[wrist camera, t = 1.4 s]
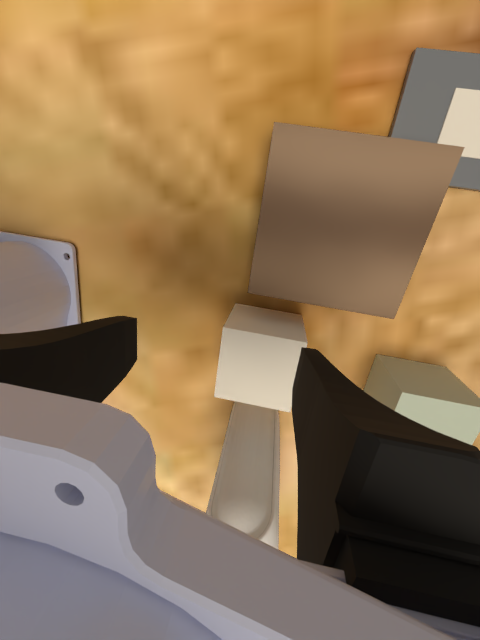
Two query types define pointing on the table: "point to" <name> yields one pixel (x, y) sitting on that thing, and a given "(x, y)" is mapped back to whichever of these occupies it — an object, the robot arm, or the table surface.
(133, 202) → the table surface
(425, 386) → the sage cube
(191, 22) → the table surface
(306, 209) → the walnut base
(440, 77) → the card
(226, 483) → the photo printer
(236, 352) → the cream cube
